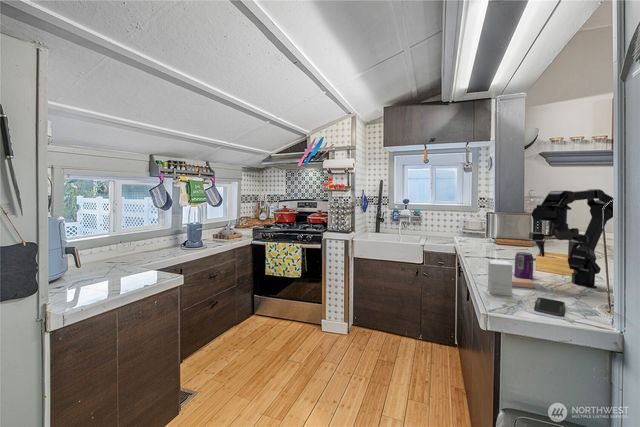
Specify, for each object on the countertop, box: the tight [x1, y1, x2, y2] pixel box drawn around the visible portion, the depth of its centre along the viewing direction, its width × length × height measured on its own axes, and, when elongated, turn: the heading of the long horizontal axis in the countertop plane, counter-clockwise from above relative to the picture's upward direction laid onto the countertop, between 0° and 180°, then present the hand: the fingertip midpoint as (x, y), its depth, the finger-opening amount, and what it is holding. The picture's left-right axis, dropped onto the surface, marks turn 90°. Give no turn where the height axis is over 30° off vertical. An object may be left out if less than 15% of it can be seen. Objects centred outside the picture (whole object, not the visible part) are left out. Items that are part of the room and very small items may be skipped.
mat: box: [512, 282, 551, 293], centre depth 120 cm, size 14×12×1 cm
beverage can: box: [513, 251, 534, 280], centre depth 134 cm, size 7×7×12 cm
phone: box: [533, 296, 566, 317], centre depth 98 cm, size 8×1×15 cm
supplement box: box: [487, 259, 513, 297], centre depth 113 cm, size 7×7×13 cm
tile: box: [512, 277, 536, 288], centre depth 121 cm, size 2×6×10 cm
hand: (556, 257), depth 119 cm, fingers open, 9 cm apart
